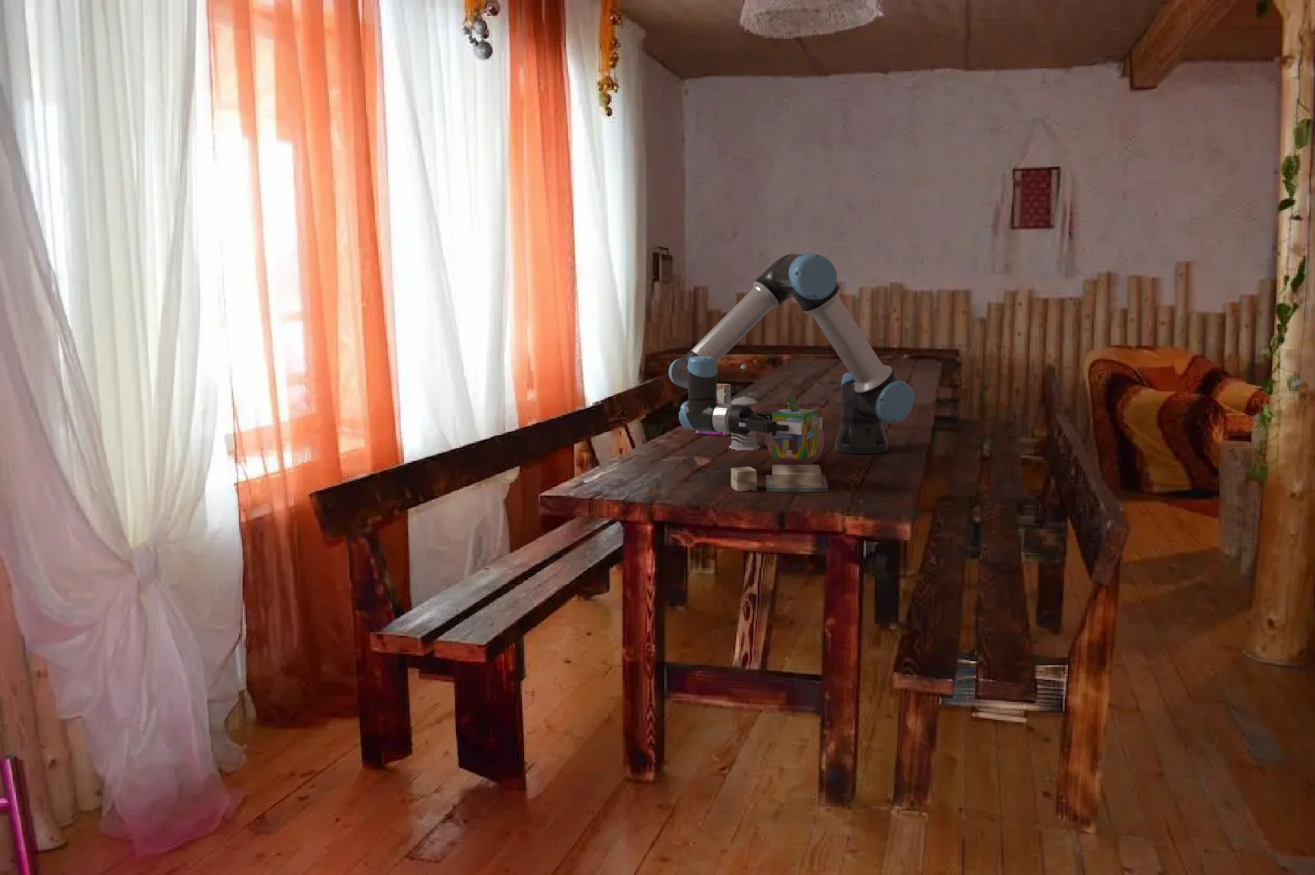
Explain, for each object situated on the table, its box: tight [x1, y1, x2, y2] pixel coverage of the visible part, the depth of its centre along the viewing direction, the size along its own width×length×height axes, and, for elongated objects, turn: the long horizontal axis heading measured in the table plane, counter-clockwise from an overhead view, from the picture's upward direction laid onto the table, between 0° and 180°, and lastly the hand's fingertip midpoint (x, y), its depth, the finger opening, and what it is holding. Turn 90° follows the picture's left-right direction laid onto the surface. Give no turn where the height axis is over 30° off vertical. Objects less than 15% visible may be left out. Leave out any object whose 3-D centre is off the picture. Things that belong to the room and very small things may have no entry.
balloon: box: [749, 428, 825, 465], centre depth 289 cm, size 15×20×15 cm
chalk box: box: [771, 396, 819, 460], centre depth 266 cm, size 9×9×15 cm
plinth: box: [765, 464, 829, 493], centre depth 268 cm, size 15×15×4 cm
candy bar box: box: [693, 383, 732, 437], centre depth 344 cm, size 11×5×16 cm, turn 65°
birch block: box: [730, 466, 758, 492], centre depth 266 cm, size 5×5×5 cm
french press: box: [728, 364, 761, 451], centre depth 320 cm, size 10×12×25 cm
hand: (811, 426), depth 263 cm, fingers closed on chalk box, 10 cm apart
